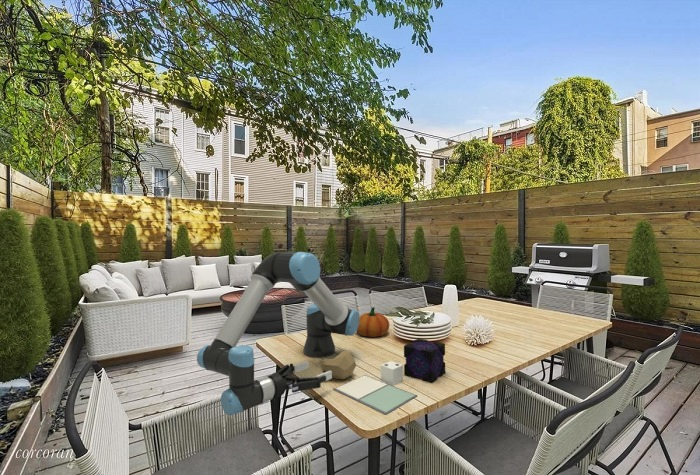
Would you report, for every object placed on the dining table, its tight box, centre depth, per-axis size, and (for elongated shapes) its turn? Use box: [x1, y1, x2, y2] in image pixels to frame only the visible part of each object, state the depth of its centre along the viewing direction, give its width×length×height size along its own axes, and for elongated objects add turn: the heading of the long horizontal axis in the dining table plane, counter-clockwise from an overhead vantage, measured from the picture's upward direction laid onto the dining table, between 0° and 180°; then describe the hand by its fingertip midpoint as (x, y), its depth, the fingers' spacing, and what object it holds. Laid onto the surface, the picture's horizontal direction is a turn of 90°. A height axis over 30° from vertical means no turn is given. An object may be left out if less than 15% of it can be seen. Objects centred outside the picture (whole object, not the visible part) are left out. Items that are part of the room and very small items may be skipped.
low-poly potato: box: [319, 349, 357, 381], centre depth 136 cm, size 15×11×12 cm
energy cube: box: [403, 338, 446, 384], centre depth 137 cm, size 12×12×12 cm
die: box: [380, 360, 404, 386], centre depth 132 cm, size 6×6×6 cm
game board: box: [332, 374, 418, 416], centre depth 122 cm, size 25×17×1 cm
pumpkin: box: [356, 307, 390, 338], centre depth 193 cm, size 19×19×15 cm
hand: (319, 369), depth 129 cm, fingers open, 13 cm apart
